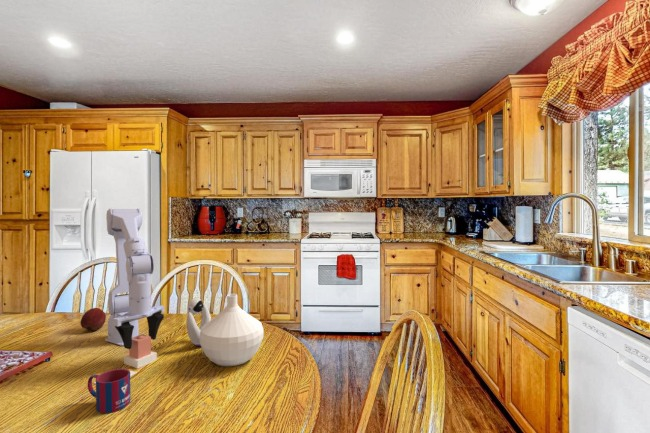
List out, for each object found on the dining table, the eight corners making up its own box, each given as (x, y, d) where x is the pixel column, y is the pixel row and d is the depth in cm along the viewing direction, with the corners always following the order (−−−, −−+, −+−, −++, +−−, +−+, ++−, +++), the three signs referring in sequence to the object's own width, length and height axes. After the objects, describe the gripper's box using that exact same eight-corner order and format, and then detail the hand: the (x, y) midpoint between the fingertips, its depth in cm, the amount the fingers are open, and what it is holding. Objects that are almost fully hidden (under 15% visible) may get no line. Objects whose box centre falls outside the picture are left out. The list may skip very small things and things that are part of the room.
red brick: (129, 355, 100) (129, 337, 99) (142, 350, 103) (141, 332, 103) (138, 358, 98) (138, 340, 98) (151, 353, 101) (150, 335, 101)
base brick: (124, 365, 99) (124, 356, 99) (143, 357, 105) (143, 348, 105) (137, 369, 97) (137, 360, 97) (156, 361, 102) (156, 352, 102)
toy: (199, 352, 107) (199, 304, 107) (178, 350, 109) (178, 303, 108) (217, 338, 118) (217, 295, 118) (198, 337, 120) (198, 293, 119)
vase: (185, 367, 98) (185, 299, 97) (225, 343, 115) (225, 285, 114) (241, 379, 91) (241, 307, 91) (274, 351, 108) (274, 290, 108)
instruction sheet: (93, 383, 88) (93, 382, 88) (120, 369, 96) (120, 368, 96) (111, 387, 87) (111, 386, 87) (137, 372, 94) (137, 371, 94)
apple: (110, 329, 127) (110, 307, 126) (86, 335, 120) (86, 312, 120) (100, 325, 131) (99, 304, 130) (76, 331, 124) (76, 309, 124)
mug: (111, 416, 75) (110, 385, 75) (78, 407, 78) (77, 377, 78) (137, 399, 81) (136, 371, 81) (105, 392, 84) (105, 364, 84)
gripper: (124, 305, 92) (124, 355, 92) (171, 292, 105) (171, 337, 105) (108, 301, 95) (108, 350, 95) (155, 290, 108) (155, 333, 108)
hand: (140, 343), depth 101 cm, fingers open, 7 cm apart
